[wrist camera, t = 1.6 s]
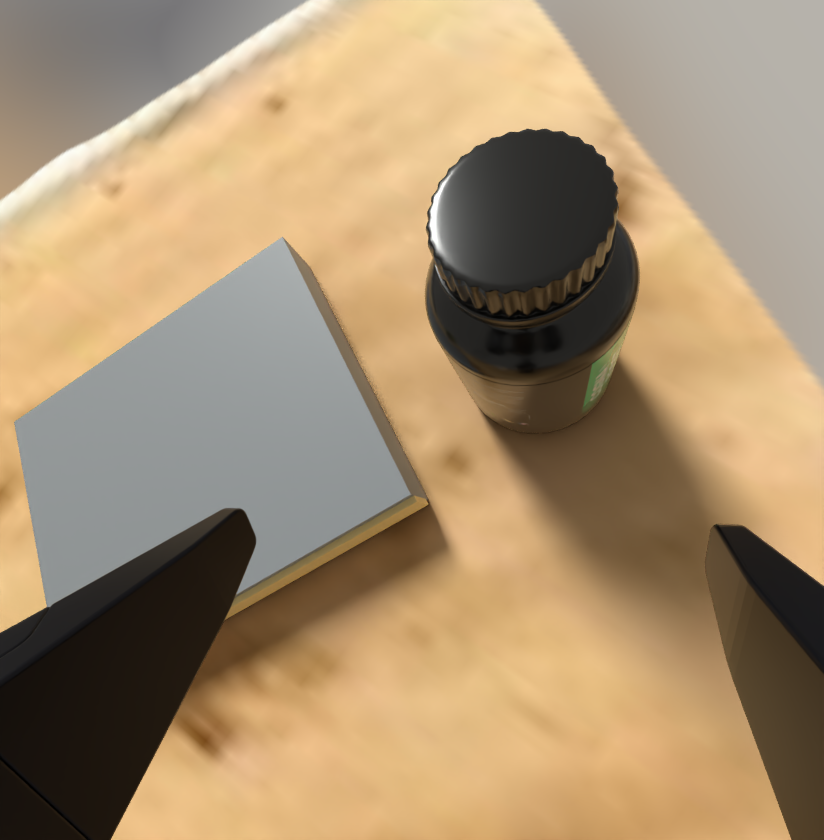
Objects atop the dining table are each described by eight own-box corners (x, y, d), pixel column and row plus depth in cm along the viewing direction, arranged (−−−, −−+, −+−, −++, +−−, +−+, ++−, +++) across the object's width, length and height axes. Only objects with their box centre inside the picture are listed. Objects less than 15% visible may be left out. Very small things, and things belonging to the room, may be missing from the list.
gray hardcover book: (431, 505, 23) (413, 500, 20) (117, 682, 25) (63, 700, 23) (309, 266, 28) (282, 236, 26) (62, 432, 31) (14, 421, 28)
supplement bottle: (637, 403, 21) (727, 254, 10) (494, 456, 22) (434, 377, 11) (575, 282, 23) (592, 48, 12) (448, 337, 25) (360, 171, 13)
